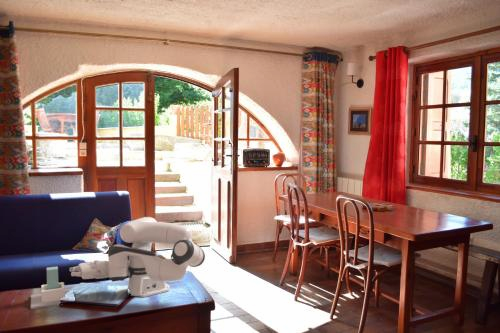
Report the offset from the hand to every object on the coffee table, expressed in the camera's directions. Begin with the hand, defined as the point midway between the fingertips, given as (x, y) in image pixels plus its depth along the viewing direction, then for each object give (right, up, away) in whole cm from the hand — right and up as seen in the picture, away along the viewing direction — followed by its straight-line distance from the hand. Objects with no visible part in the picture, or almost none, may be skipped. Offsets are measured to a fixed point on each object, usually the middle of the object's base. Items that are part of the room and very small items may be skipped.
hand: (70, 271), depth 213 cm
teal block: (-8, -13, -1) cm, 15 cm away
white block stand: (-8, -14, -1) cm, 16 cm away
